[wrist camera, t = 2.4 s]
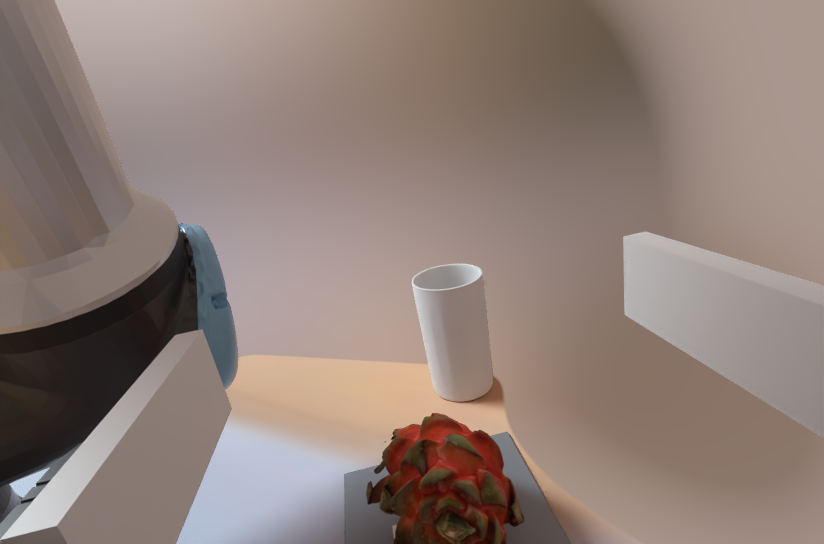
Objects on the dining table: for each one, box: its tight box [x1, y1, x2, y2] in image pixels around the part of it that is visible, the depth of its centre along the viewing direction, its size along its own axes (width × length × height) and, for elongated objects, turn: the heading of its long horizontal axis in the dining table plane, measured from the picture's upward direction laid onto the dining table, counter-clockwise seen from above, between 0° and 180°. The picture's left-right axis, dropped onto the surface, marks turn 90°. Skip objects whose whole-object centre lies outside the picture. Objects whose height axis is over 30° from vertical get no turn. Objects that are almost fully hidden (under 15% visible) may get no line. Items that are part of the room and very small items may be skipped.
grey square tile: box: [344, 432, 571, 544], centre depth 29 cm, size 14×14×1 cm
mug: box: [412, 264, 493, 402], centre depth 43 cm, size 10×7×12 cm, turn 26°
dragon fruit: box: [366, 413, 525, 544], centre depth 28 cm, size 8×8×12 cm
